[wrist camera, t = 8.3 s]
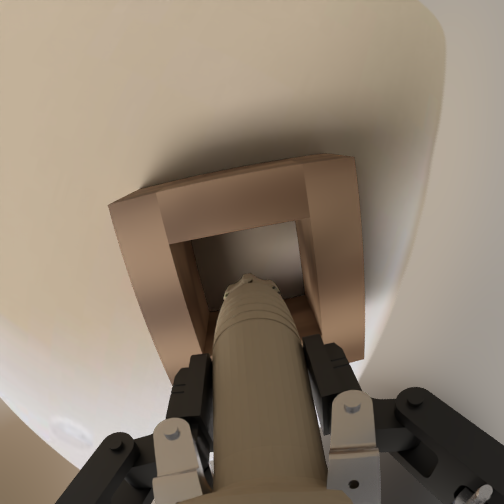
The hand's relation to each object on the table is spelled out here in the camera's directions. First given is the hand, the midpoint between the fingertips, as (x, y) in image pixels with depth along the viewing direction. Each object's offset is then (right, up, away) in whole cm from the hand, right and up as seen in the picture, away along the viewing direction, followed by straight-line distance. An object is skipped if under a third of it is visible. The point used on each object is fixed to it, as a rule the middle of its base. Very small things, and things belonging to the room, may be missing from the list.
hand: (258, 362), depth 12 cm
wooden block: (-1, +4, +12) cm, 12 cm away
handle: (0, +2, +6) cm, 6 cm away
